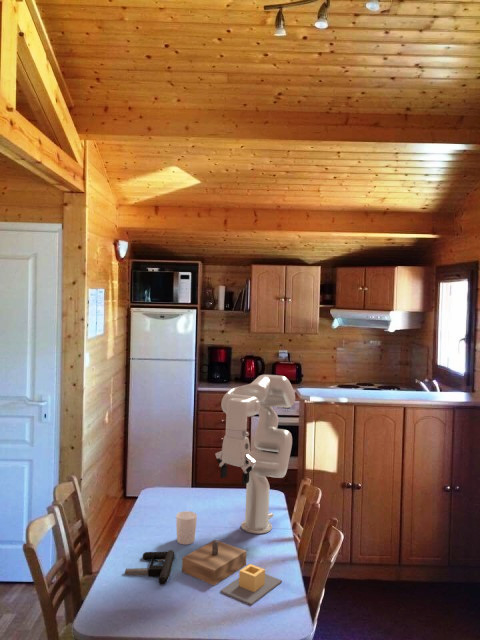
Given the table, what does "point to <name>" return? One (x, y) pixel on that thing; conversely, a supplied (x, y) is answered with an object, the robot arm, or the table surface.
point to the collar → (252, 577)
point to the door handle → (155, 566)
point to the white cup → (186, 527)
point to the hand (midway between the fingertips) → (234, 480)
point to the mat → (247, 595)
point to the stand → (214, 562)
